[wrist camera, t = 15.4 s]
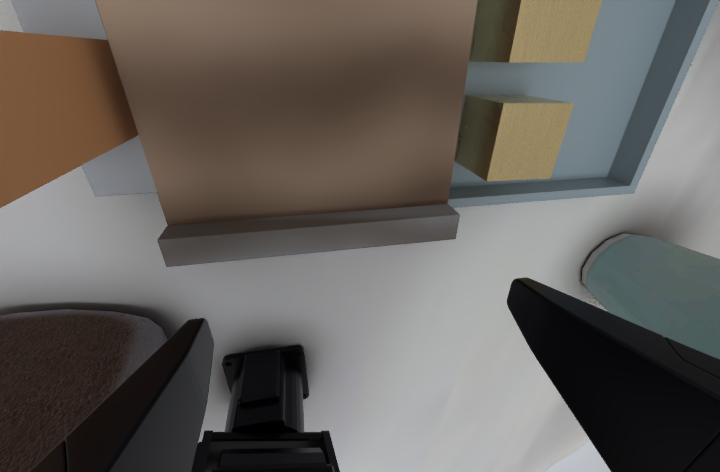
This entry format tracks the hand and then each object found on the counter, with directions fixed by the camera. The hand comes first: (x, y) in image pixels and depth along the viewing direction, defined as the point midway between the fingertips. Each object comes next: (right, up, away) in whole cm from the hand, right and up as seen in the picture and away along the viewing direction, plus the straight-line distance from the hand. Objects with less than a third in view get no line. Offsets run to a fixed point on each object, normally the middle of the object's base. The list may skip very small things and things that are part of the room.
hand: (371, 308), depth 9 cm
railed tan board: (-3, +10, +9) cm, 14 cm away
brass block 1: (+6, +13, +6) cm, 16 cm away
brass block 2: (+6, +8, +9) cm, 14 cm away
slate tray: (+11, +12, +11) cm, 19 cm away
